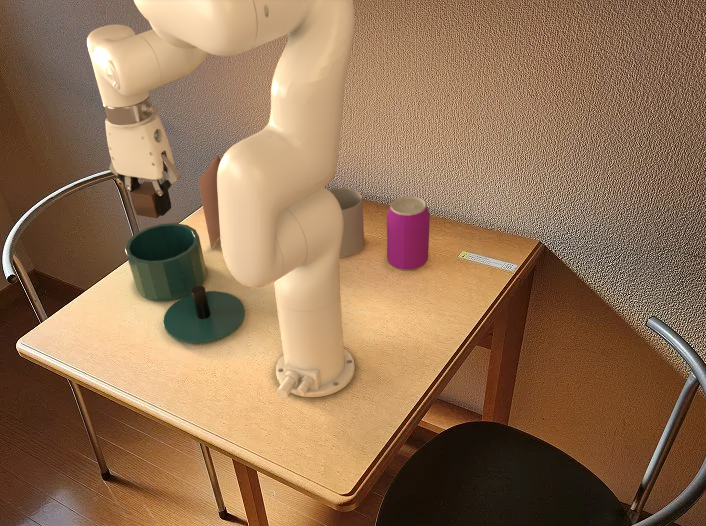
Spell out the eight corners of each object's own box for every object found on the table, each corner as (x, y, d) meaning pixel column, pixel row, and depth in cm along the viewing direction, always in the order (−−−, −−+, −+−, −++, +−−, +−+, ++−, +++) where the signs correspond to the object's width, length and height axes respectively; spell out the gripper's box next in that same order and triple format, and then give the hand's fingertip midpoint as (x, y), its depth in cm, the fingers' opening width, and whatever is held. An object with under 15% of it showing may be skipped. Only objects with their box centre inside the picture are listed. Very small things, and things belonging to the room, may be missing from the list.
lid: (220, 354, 124) (213, 322, 119) (148, 336, 129) (139, 306, 125) (259, 304, 133) (254, 273, 128) (191, 290, 138) (184, 260, 134)
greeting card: (225, 220, 156) (214, 153, 146) (258, 221, 154) (249, 154, 144) (207, 249, 149) (193, 181, 138) (242, 251, 147) (230, 182, 136)
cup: (353, 229, 149) (351, 184, 142) (371, 248, 143) (369, 202, 136) (314, 240, 147) (310, 195, 140) (331, 260, 141) (328, 214, 134)
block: (157, 218, 129) (151, 196, 126) (136, 215, 131) (130, 192, 128) (170, 206, 132) (165, 184, 129) (149, 203, 134) (144, 180, 131)
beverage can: (383, 271, 137) (382, 214, 129) (391, 248, 142) (391, 192, 134) (424, 275, 134) (426, 217, 126) (431, 252, 140) (433, 195, 132)
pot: (183, 307, 135) (173, 268, 129) (122, 294, 140) (110, 256, 134) (219, 267, 143) (211, 229, 138) (160, 256, 148) (151, 218, 143)
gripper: (184, 104, 118) (204, 206, 131) (100, 96, 125) (126, 193, 137) (159, 124, 113) (182, 227, 126) (73, 114, 120) (103, 213, 132)
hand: (153, 208), depth 131 cm, fingers closed on block, 4 cm apart
